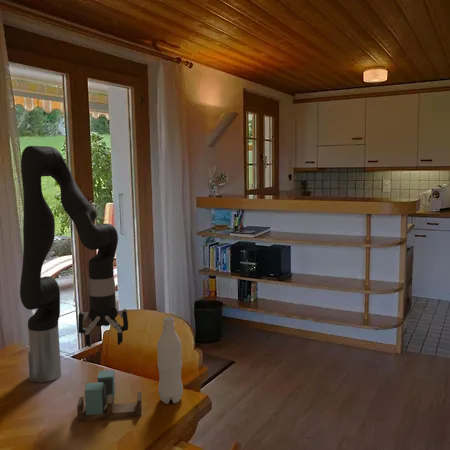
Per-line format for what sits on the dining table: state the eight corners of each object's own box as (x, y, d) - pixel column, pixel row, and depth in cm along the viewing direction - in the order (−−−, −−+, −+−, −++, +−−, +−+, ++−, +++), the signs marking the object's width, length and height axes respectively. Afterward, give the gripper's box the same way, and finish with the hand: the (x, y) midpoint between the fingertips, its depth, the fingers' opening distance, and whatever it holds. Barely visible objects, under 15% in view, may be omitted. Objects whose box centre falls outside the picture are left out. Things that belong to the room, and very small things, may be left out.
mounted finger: (85, 415, 129) (84, 390, 128) (88, 406, 133) (86, 383, 133) (105, 413, 130) (103, 389, 129) (106, 405, 134) (105, 381, 133)
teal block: (100, 393, 145) (99, 371, 144) (115, 391, 145) (114, 370, 145) (98, 401, 140) (97, 378, 139) (113, 399, 140) (112, 377, 140)
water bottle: (179, 407, 136) (176, 322, 133) (155, 404, 137) (152, 321, 134) (186, 395, 143) (184, 315, 140) (163, 393, 144) (161, 313, 141)
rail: (77, 421, 129) (77, 405, 128) (80, 412, 134) (79, 397, 133) (141, 415, 131) (140, 400, 131) (141, 406, 136) (141, 391, 136)
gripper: (127, 287, 144) (129, 338, 146) (78, 289, 141) (81, 341, 143) (126, 294, 136) (128, 348, 138) (75, 296, 134) (77, 351, 136)
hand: (104, 344), depth 141 cm, fingers open, 8 cm apart
